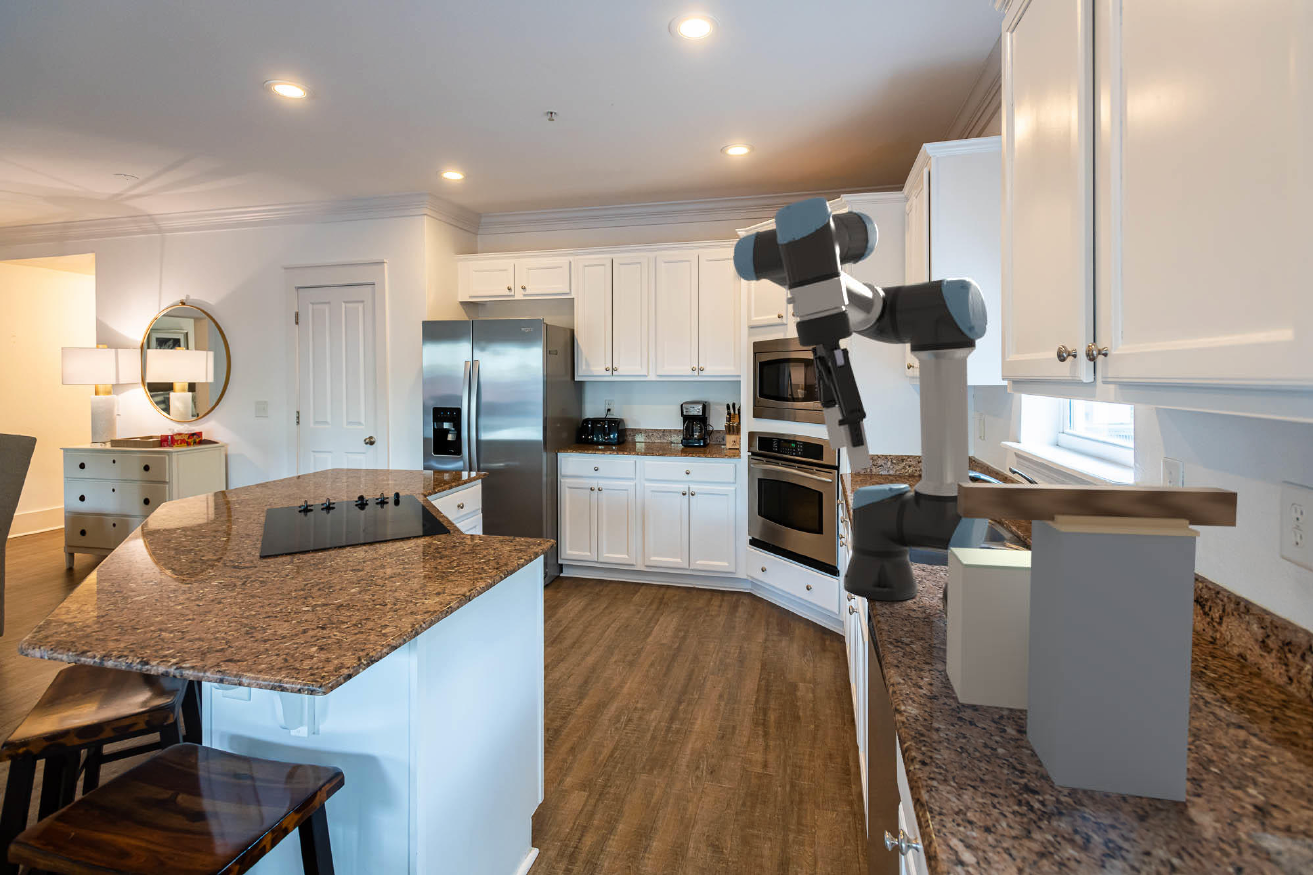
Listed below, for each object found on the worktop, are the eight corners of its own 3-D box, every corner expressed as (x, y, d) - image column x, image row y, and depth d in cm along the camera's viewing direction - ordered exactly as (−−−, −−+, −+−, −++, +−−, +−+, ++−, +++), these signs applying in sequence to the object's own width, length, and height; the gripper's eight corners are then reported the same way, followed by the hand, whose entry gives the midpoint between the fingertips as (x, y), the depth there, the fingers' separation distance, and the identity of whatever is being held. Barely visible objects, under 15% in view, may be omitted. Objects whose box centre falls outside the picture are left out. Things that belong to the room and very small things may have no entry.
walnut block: (1215, 520, 69) (1216, 487, 69) (1235, 526, 66) (1237, 492, 66) (957, 512, 76) (957, 482, 76) (963, 518, 72) (964, 486, 72)
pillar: (1140, 749, 76) (1148, 506, 74) (1188, 803, 66) (1200, 523, 64) (1024, 736, 79) (1029, 503, 77) (1054, 786, 69) (1061, 519, 67)
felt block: (960, 702, 87) (962, 564, 86) (946, 672, 97) (948, 547, 96) (1127, 719, 82) (1132, 572, 81) (1095, 685, 92) (1099, 553, 91)
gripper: (783, 319, 102) (810, 445, 105) (809, 321, 77) (842, 485, 81) (830, 308, 101) (855, 435, 105) (871, 306, 77) (901, 472, 80)
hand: (849, 457), depth 93 cm, fingers open, 13 cm apart
